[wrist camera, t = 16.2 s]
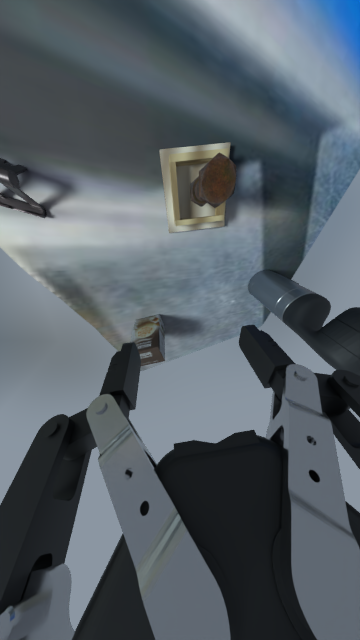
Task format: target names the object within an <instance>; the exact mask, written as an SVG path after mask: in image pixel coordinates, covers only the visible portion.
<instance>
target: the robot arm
mask: <svg viewBox="0 0 360 640" xmlns="http://www.w3.org/2000/svg"><path fill="white" fill-rule="evenodd" d="M248 290H249V292H250V294H251V295H253V296H254V297H255V298H256V299H257V300H258V301H259V302H261V303H262V304H263V305H264V306H265V307H266V308H268V309H269V310H270V311H271V312H272V313H274V314H275V315H276V316H277V317H278V318H279V319H280V320H282V321H283V322H284V323H285V324H286V325H287V326H289V327H290V328H291V329H292V330H293V331H294V332H295V333H297V334H298V335H299V336H300V337H301V338H302V339H303V340H304V341H305V342H306V343H307V344H308V345H309V346H310V347H311V348H312V349H313V350H314V351H315V352H316V353H317V354H318V355H320V357H322V358H323V359H324V360H325V361H326V362H327V363H328V364H330V365H331V366H332V367H333V368H335V369H336V371H334V372H333V373H332V375H327V374H319V373H313V372H312V371H311V370H309V369H308V368H306V367H304V366H302V365H298V364H295V363H294V362H293V361H292V360H291V359H290V357H289V356H287V354H286V353H285V352H284V351H283V350H282V349H281V348H280V347H279V346H278V344H277V343H276V342H275V341H274V340H273V339H272V338H271V337H270V335H268V334H267V333H265V332H264V331H262V330H261V331H259V330H258V329H257V328H256V326H255V325H247V326H242V328H241V333H240V338H239V346H240V348H241V350H242V352H243V353H244V355H245V357H246V358H247V360H248V362H249V363H250V365H251V367H252V368H253V370H254V372H255V373H256V375H257V376H258V378H259V380H260V381H261V383H262V385H263V386H264V388H270V387H271V388H272V389H273V395H272V405H271V416H270V423H269V426H268V429H267V434H266V438H264V437H261V436H257V435H256V433H255V431H254V430H250V431H244V432H238V433H234V434H232V435H231V436H229V437H227V438H225V439H224V440H222V441H220V442H218V443H208V442H201V441H195V440H193V441H188V442H182V443H176V444H174V450H172V451H170V452H169V453H167V454H166V455H165V456H164V457H163V458H162V459H161V460H160V462H159V463H158V464H156V462H155V460H154V459H153V457H152V455H151V454H150V452H149V451H148V449H147V448H146V446H145V445H144V443H143V441H142V440H141V438H140V436H139V435H138V433H137V431H136V430H135V428H134V426H133V425H132V423H131V421H130V420H129V411H130V410H134V409H135V407H136V399H137V391H138V382H139V375H140V367H141V357H140V354H139V352H138V349H137V346H136V344H135V342H130V343H124V344H123V346H122V349H121V351H119V352H116V354H115V355H114V356H113V357H112V359H111V362H110V366H109V368H108V372H107V374H106V377H105V380H104V383H103V386H102V389H101V392H100V395H99V397H97V398H96V399H95V400H93V401H92V403H91V404H90V405H89V407H88V408H87V409H85V410H83V411H81V412H79V413H77V414H75V415H73V416H71V417H68V416H66V415H64V414H60V415H57V416H54V417H53V418H51V419H50V420H48V421H47V422H46V423H45V424H44V425H43V426H42V427H41V428H40V430H39V431H38V433H37V435H36V437H35V439H34V440H33V442H32V444H31V446H30V448H29V450H28V452H27V454H26V456H25V458H24V460H23V462H22V464H21V466H20V468H19V470H18V472H17V474H16V476H15V478H14V480H13V482H12V484H11V486H10V487H9V489H8V491H7V493H6V495H5V497H4V499H3V501H2V503H1V505H0V640H360V513H359V512H358V511H357V510H356V509H354V508H353V507H352V506H351V505H349V504H348V503H347V502H346V501H345V498H344V492H343V486H342V480H341V474H340V469H339V463H338V457H337V452H336V446H335V440H334V435H335V437H336V438H337V439H338V441H339V442H340V443H341V444H342V446H343V447H344V449H345V450H346V451H347V453H348V454H349V455H350V457H351V458H352V460H353V461H354V462H355V463H356V465H357V466H358V468H359V469H360V422H359V421H358V420H357V418H356V417H355V416H354V415H353V414H352V413H351V412H350V411H349V410H348V409H350V408H351V409H352V410H353V411H354V412H355V413H356V414H357V415H358V416H359V417H360V308H357V307H355V308H350V309H348V310H346V311H344V312H343V313H341V314H340V315H338V316H337V317H336V318H335V319H333V320H332V321H330V322H329V323H328V324H326V325H325V326H324V327H322V326H323V323H324V321H325V320H326V318H327V316H328V315H329V312H330V308H331V305H330V302H329V301H328V300H327V299H326V298H324V297H322V296H320V295H318V294H316V293H314V292H312V291H310V290H308V289H306V288H304V287H302V286H300V285H299V284H298V283H296V282H294V281H292V280H290V279H288V278H286V277H284V276H282V275H280V274H278V273H275V272H273V271H270V270H263V271H260V272H258V273H257V274H255V275H254V276H253V277H252V279H251V280H250V282H249V285H248ZM333 434H334V435H333ZM95 447H98V449H99V452H100V456H99V458H98V461H99V465H100V469H101V471H102V474H103V477H104V480H105V483H106V486H107V488H108V491H109V494H110V497H111V500H112V503H113V505H114V508H115V511H116V514H117V517H118V520H119V523H120V526H121V528H122V531H123V534H122V536H121V538H120V540H119V542H118V544H117V546H116V548H115V550H114V553H113V555H112V557H111V559H110V561H109V563H108V565H107V567H106V569H105V571H104V573H103V575H102V577H101V579H100V581H99V583H98V585H97V587H96V589H95V592H94V594H93V596H92V598H91V600H90V602H89V604H88V606H87V608H86V610H85V612H84V614H83V616H82V618H81V620H80V622H79V624H78V626H77V628H76V631H74V630H73V628H72V626H71V623H70V618H69V600H70V593H71V574H70V571H69V568H68V567H67V566H66V565H65V564H64V562H65V558H66V554H67V550H68V545H69V541H70V537H71V533H72V529H73V525H74V521H75V516H76V512H77V508H78V504H79V500H80V496H81V492H82V487H83V484H84V479H85V475H86V471H87V467H88V463H89V459H90V455H91V450H92V449H94V448H95Z"/></svg>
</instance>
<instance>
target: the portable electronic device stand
mask: <svg viewBox="0 0 360 640" xmlns="http://www.w3.org/2000/svg"><path fill="white" fill-rule="evenodd" d="M5 163H6V160H4V159H1V158H0V183H2V184H3V185H5V186H6V187H7V188H9V189H10V190H11V191H13V192H14V193H16V194H17V195H18V196H20V197H21V198H23V199H24V200H25V201H27V202H28V203H30V204H28V203H25V202H22V201H18V200H15V199H12V198H8V197H5V196H4V195H2V194H1V193H0V206H3V207H7V208H11V209H14V210H18V211H22V212H25V213H28V214H32V215H35V216H39V217H43V218H46V215H47V214H46V210H45V209H44V208H43V207H42V206H41V205H39V204H38V203H37V202H35V201H34V200H33V199H32V198H30V197H29V196H28V195H26V194H25V193H24V192H22V191H21V190H20V188H19V180H18V177H17V175H18V174H20V173H22V172H24V171H25V170H27V169H26V167H24V166H21V165H16V166H11V165H8V164H5Z"/></svg>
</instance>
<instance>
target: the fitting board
mask: <svg viewBox="0 0 360 640" xmlns="http://www.w3.org/2000/svg"><path fill="white" fill-rule="evenodd" d="M219 152H220V153H221V154H223V155H225V156H226V157H228V158H229V153H230V143H220V144H210V145H200V146H191V147H181V148H171V149H161V150H160V159H161V167H162V176H163V184H164V193H165V201H166V209H167V218H168V226H169V233H173V232H181V231H190V230H198V229H206V228H214V227H222V226H224V222H225V209H226V201H225V202H223V203H222V204H221V205H219V206H218V207H216V208H214V207H213V206H211V205H209V204H208V203H206V204H205V205H204V206H202V207H200V206H199V205H197V204H195V203H194V202H192V201H191V199H190V184H191V183H192V182H193V181H194V180H195V179H196V178H197V177H198V176H199V171H200V170H201V169H202V168H203V167H204V166H205V165H206V164H207V163H208V162H209V161H210V160H211V159H212V158H213V157H214V156H216V155H217V154H218V153H219Z"/></svg>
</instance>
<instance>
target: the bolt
mask: <svg viewBox="0 0 360 640" xmlns="http://www.w3.org/2000/svg"><path fill="white" fill-rule="evenodd" d="M235 183H236V165H235V164H234V163H233V162H232V161H231V160H230V159H229V158H228V157H226V156H225V155H223V154H221V153H220V152H219V153H218V154H217V155H216V156H214V157H213V158H212V159H211V160H210V161H209V162H208V163H207V164H206V165H205V166H204V167H203V168H202V169H201V170H200V171H199V176H198V177H197V178H196V179H195V180H194V181H193V182H192V183H191V184H190V199H191V201H192V202H194V203H195V204H197V205H199V206H200V207H202V206H204V205H205V204H206V203H208V204H209V205H211V206H213V207H214V208H216V207H218V206H219V205H221V204H222V203H223V202H225V201H226V200H227V199H228V198H229V197H230V196H231V195H232V194H233V193H234V189H235Z"/></svg>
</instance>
